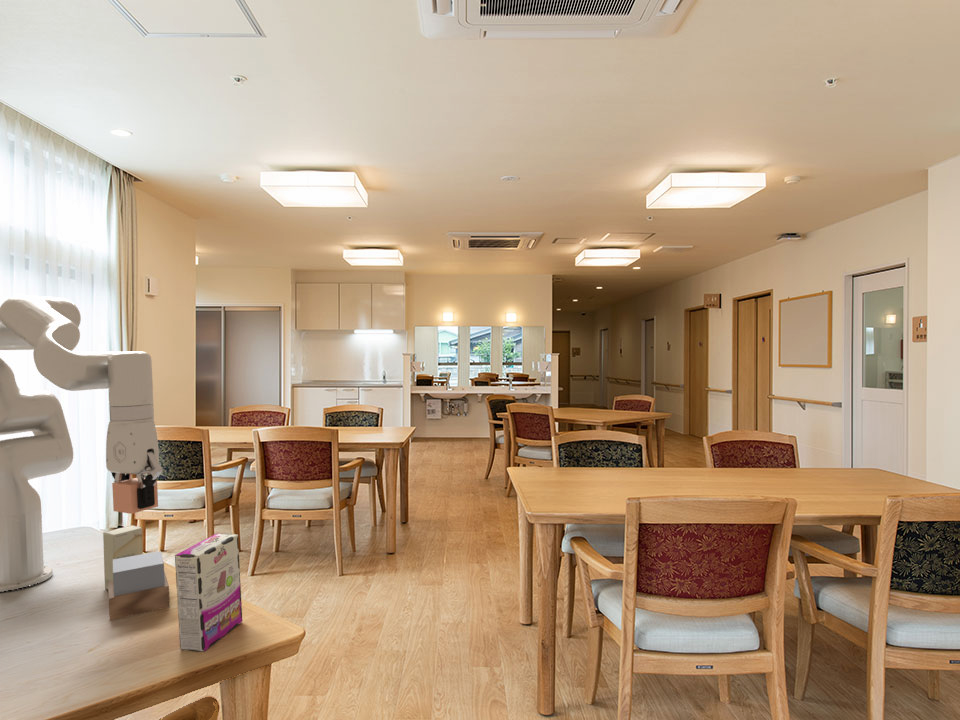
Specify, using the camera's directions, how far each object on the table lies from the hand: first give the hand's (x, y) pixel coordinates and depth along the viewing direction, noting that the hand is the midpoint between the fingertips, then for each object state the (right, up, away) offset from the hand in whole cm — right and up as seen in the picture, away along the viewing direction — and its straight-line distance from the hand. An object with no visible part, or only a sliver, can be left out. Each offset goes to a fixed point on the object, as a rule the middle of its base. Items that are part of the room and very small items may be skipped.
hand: (135, 504), depth 118 cm
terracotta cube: (0, -1, 0) cm, 1 cm away
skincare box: (-8, -20, +10) cm, 24 cm away
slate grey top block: (0, -16, 0) cm, 16 cm away
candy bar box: (+21, -20, -13) cm, 32 cm away
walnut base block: (0, -20, +1) cm, 20 cm away
